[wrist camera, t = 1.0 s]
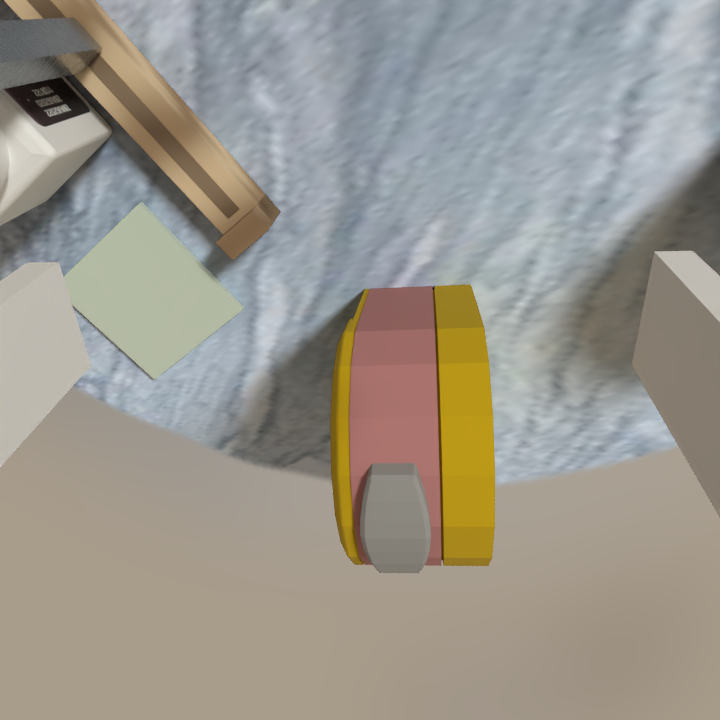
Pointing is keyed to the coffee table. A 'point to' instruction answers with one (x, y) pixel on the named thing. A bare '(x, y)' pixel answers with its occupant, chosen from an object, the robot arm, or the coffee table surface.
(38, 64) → the grey l-shaped beam
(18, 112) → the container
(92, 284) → the pad
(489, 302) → the coffee table surface
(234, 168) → the rail
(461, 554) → the alarm clock
